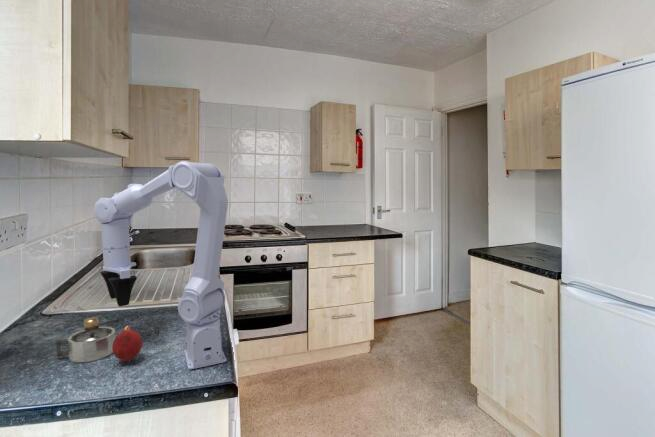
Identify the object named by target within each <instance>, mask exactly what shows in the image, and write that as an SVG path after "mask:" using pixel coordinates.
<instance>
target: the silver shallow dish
mask: <svg viewBox="0 0 655 437" xmlns="http://www.w3.org/2000/svg"><path fill="white" fill-rule="evenodd" d="M99 330H101V331H106V332H107V334H108V336H106V337H104V338H101V339H98V340H94V341H88V342H77V337H78V336H80V335H82V334H84V333H87V332H90V331H85V330H84V329H83V330H79V331H77V332H75V333H73V334H71V335H69V336H68V338H66V339H60V340H59V339H58V340H56V342H55V343H56V344H55V346H56V347H55V348H56V357H57V358H60V357H66V356H68V358H69V360H70V361H71V362H72V363H77V364H81V363H91V362H96V361H99V360H102V359H104V358H107V357H109V356H110V355H112V354H114V353H113V349H112V347H113V342H114V340H115V338H116V337H117V336H116V328H114V327H111V326H99V328H98V329H95V330H94V331H99ZM65 345H67V349H66V350H63V346H65Z"/></svg>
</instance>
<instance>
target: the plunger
mask: <svg viewBox="0 0 655 437" xmlns="http://www.w3.org/2000/svg"><path fill="white" fill-rule="evenodd" d="M99 323H100V322H99V317H98V316H91V317H87V318H84V320H83V327H84V328H83V330H85V331H90V332H87V333H84V334H82V335H80V336H78V337H77V342H88V341H94V340H98V339H101V338H104V337H106V336H108V334H107V332H106V331H101V330H99V331H94V330H95V329H98V328H99V327H100V325H99Z"/></svg>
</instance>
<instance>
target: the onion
mask: <svg viewBox="0 0 655 437" xmlns="http://www.w3.org/2000/svg"><path fill="white" fill-rule="evenodd" d="M142 348H143V339H142V337H141V335H140V334H139V333H138V332H137V331H135V330H133V329H131V326H129V325H126V326H125V327H124V328H123V330H122V331H121V332H120V333H119V334H118V335H117V336H116V338H115V340H114V342H113V347H112V349H113V353H112V354H113V355H114V357H115V358H117V359H119V360H120V361H122V362H131V361H132V360H133V359H135V358H136V356H138V355H139V353H140V352H141V350H142Z"/></svg>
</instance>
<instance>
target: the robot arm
mask: <svg viewBox="0 0 655 437" xmlns="http://www.w3.org/2000/svg"><path fill="white" fill-rule="evenodd" d="M224 181H225V174H224V173H223V172H222V170H220V168H219V167H218V166H217V165H215V164H213V163H211V162H206V163H202V162H194V161H193V162H191V161H188V160H181V161H179V162H177V163H175V164H173V165H170V166H169V167H168V169H167V170H166V171H164V172H162V173H161V174H159V175H158V176H156V177H155V178H153V179H151V180H149V182H147V183H145V184H140V183H130V184H128V185H127V188H126V189H124V190H122V191H120V192H115V193H113V196H111V197H109V198H108V197H100V198H99V199H98V200H97V201H96V202H95V204H94V207H93V213H94V216H95V218H96V219H97V221H99V222H100V225H101V226H100V228H101V244H102V245H101V247H102V258H103V259H102V261H103V262H102V263H103V265H102V271H100V272H99V273H100V275H101V276H102V279H104V283H105V284H106V287H107V291H108V294H109V297H110V299H112V300H114V299H115V300H116V303H117V306H118V307H125V306H129V305H130V301H131V297H132V296H131V295H132V291H133V289H134V288H133V287H134V285H135V283H136V281H137V278H138V276H136V275H131V269H132V267H136V266H137V263H136V262H135V261H131V260H132V259H131V245H130V227H131V225H132V224H131V223H132V222H131V221H132V218H133V217H134V214H136V213H138V212H140V211H142V210H144V209H146V208H148V207H149V206H151V205H152V203H153V199H154V198H156V197H158V196H160V195H162V194H165V193H166V192H170V191H171V190H173V189H177V190H178V191H180V192H181V193H182V194H184V195H185V196H187V197H188V198H190V199H191V200H192V201H194V202H195V204H196V205H197V206H198V207H199V208H200V209H199V210H200V212H199V217H198V218H199V219H198V226H197V233H196V234H197V235H196V236H197V237H196V241H195V242H196V244H195V252H194V260H193V269H192V277H191V278H190V279H189V281H188V283H187V284H186V285H185V287H184V288H183V293H182V296H181V298H179V301H178V304H177V310H178V315H179V316H180V318H181V319H182V321H184V323H185V324H186V326H185V327H186V346H187V347H186V348H185V349H184V350H183V351H184V356H185V361H186V365H187V370H194V369H195V370H196V369H199V368H203V367H209V366H214V365H217V364H223V363H226V362H227V357H226V355H225V353H224V350H223V347H222V346H223V345H222V335H221V317H220V316H221V313H222V311H221V309H222V308H223V307H224V306H225V303H226V294H225V289H224V286H225V282H224V281H223V280H222V279H220V278H219V273H220V266H221V259H222V258H221V257H222V252H223V251H222V250H223V244H224V243H223V242H224V236H225V227H226V220H227V219H226V218H227V214H228V213H227V212H228V207H229V201H228V197H227V193H226V188H225V185H224Z"/></svg>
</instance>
